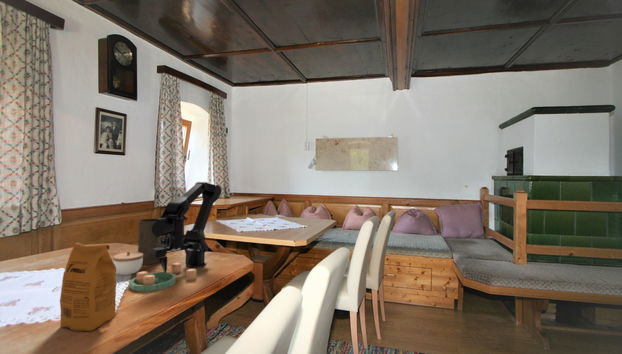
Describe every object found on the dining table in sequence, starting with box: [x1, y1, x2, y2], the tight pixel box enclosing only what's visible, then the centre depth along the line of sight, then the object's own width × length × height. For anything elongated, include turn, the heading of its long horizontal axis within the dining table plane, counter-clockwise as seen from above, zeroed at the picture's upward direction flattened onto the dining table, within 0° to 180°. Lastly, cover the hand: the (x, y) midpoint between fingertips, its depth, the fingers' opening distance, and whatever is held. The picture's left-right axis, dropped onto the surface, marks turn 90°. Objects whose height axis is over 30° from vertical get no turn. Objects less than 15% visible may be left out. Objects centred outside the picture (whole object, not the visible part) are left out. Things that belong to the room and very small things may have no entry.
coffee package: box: [59, 241, 117, 332], centre depth 85 cm, size 10×12×22 cm
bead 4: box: [185, 268, 197, 281], centre depth 119 cm, size 4×4×4 cm
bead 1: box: [136, 270, 149, 285], centre depth 112 cm, size 4×4×4 cm
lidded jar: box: [112, 250, 144, 276], centre depth 125 cm, size 11×11×9 cm
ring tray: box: [129, 271, 177, 293], centre depth 113 cm, size 15×15×3 cm
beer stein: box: [137, 218, 168, 265], centre depth 146 cm, size 15×11×20 cm
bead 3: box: [170, 262, 182, 274], centre depth 127 cm, size 4×4×4 cm
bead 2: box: [143, 275, 155, 285], centre depth 109 cm, size 4×4×4 cm
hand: (176, 269), depth 127 cm, fingers open, 9 cm apart
